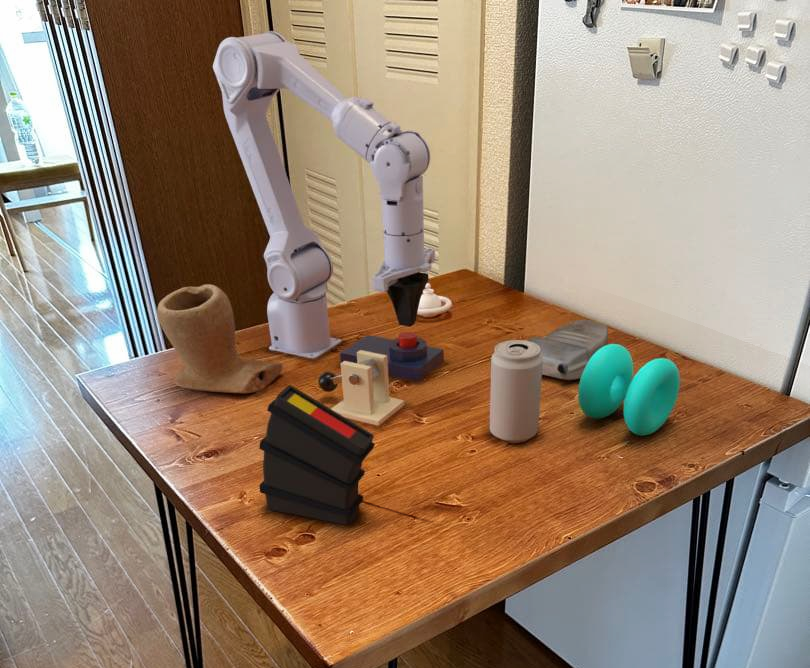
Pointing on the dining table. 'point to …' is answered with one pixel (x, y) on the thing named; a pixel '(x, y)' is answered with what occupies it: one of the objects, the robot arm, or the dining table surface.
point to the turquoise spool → (629, 389)
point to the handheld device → (570, 348)
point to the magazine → (312, 459)
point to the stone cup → (210, 343)
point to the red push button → (407, 340)
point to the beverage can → (515, 390)
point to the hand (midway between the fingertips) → (406, 324)
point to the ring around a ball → (432, 303)
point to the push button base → (398, 356)
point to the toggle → (331, 381)
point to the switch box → (366, 391)
